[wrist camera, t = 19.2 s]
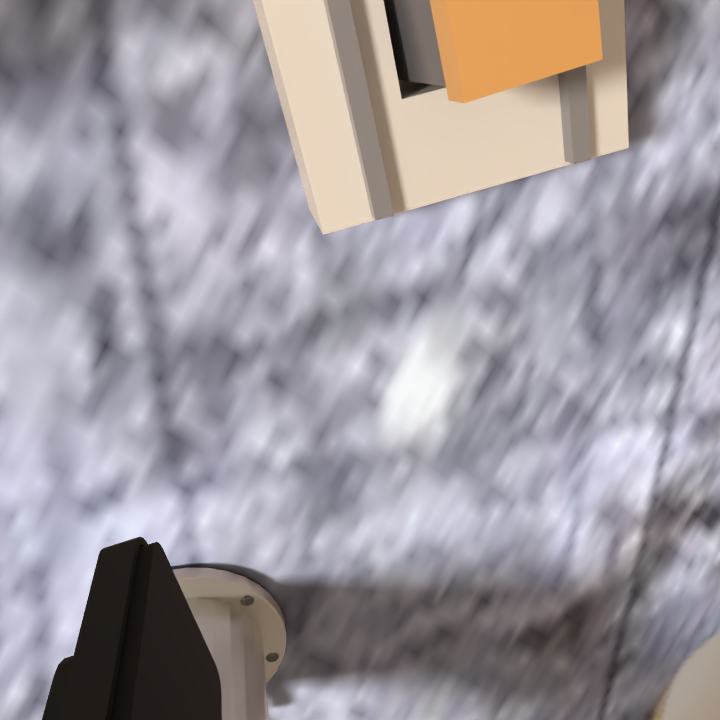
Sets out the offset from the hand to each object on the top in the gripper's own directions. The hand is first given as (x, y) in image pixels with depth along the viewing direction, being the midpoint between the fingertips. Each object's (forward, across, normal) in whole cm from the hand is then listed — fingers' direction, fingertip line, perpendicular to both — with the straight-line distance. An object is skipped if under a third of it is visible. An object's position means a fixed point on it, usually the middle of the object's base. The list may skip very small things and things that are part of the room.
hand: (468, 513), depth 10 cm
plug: (+23, -8, -8) cm, 25 cm away
